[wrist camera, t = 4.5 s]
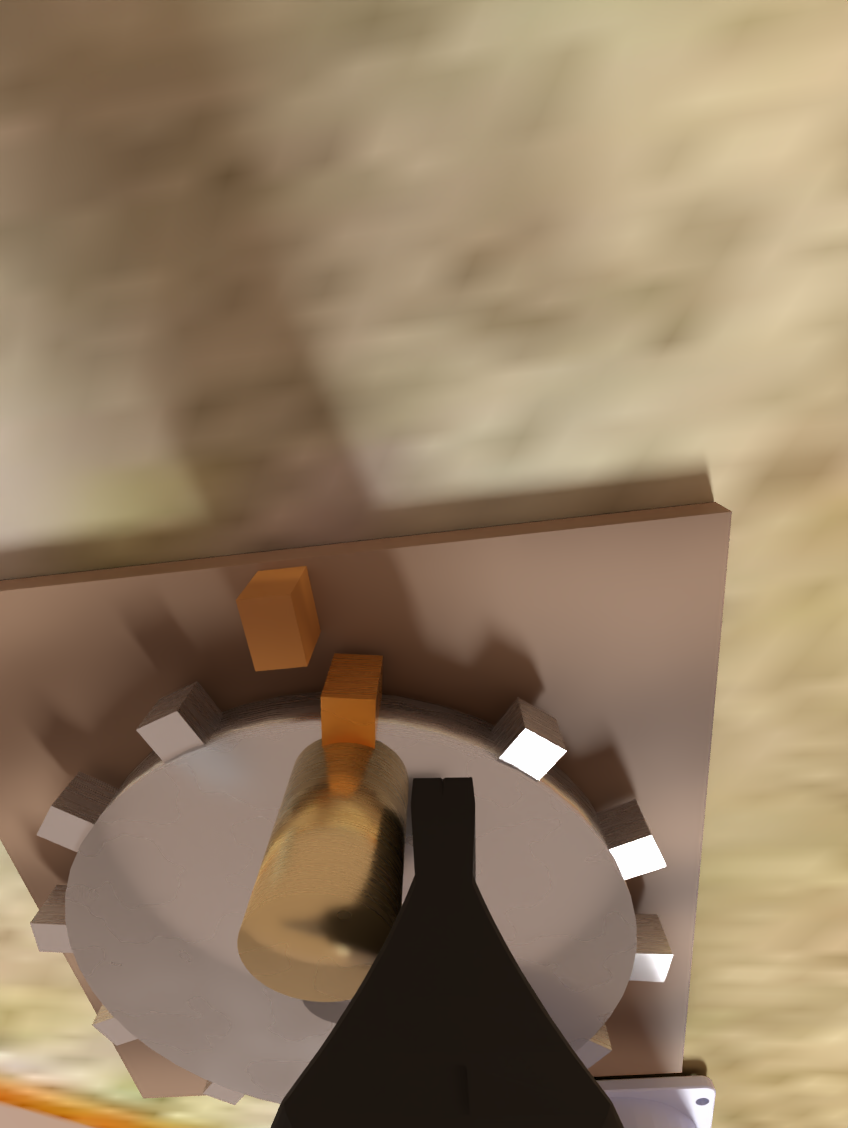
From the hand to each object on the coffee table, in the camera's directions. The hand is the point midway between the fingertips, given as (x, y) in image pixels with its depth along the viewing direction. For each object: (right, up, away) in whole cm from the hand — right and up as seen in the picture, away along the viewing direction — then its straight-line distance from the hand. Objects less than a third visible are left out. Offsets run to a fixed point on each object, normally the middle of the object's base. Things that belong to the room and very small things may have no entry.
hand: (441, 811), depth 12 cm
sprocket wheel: (-2, -5, +5) cm, 7 cm away
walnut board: (-2, -5, +6) cm, 8 cm away
